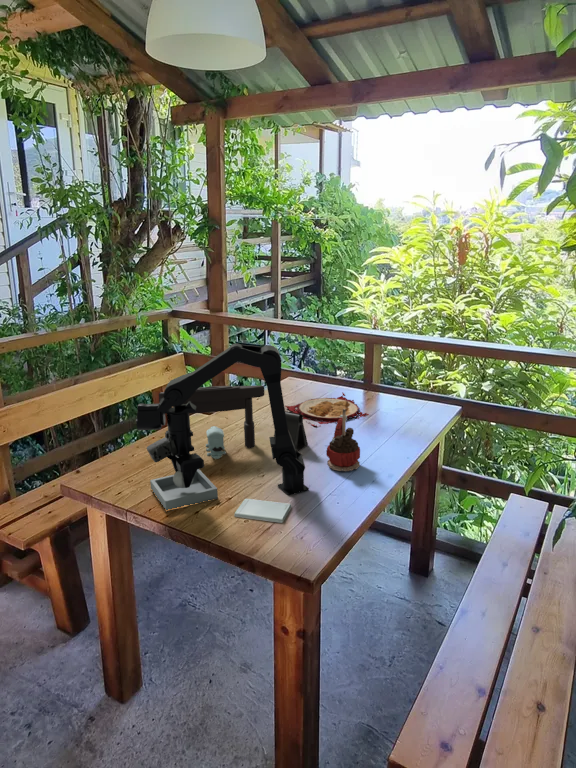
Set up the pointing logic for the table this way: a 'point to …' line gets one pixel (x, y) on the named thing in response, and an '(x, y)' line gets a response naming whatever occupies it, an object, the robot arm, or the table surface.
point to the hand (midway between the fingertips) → (183, 482)
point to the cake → (343, 448)
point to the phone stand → (296, 430)
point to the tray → (183, 491)
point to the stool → (225, 401)
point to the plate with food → (326, 409)
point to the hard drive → (263, 510)
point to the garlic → (179, 480)
